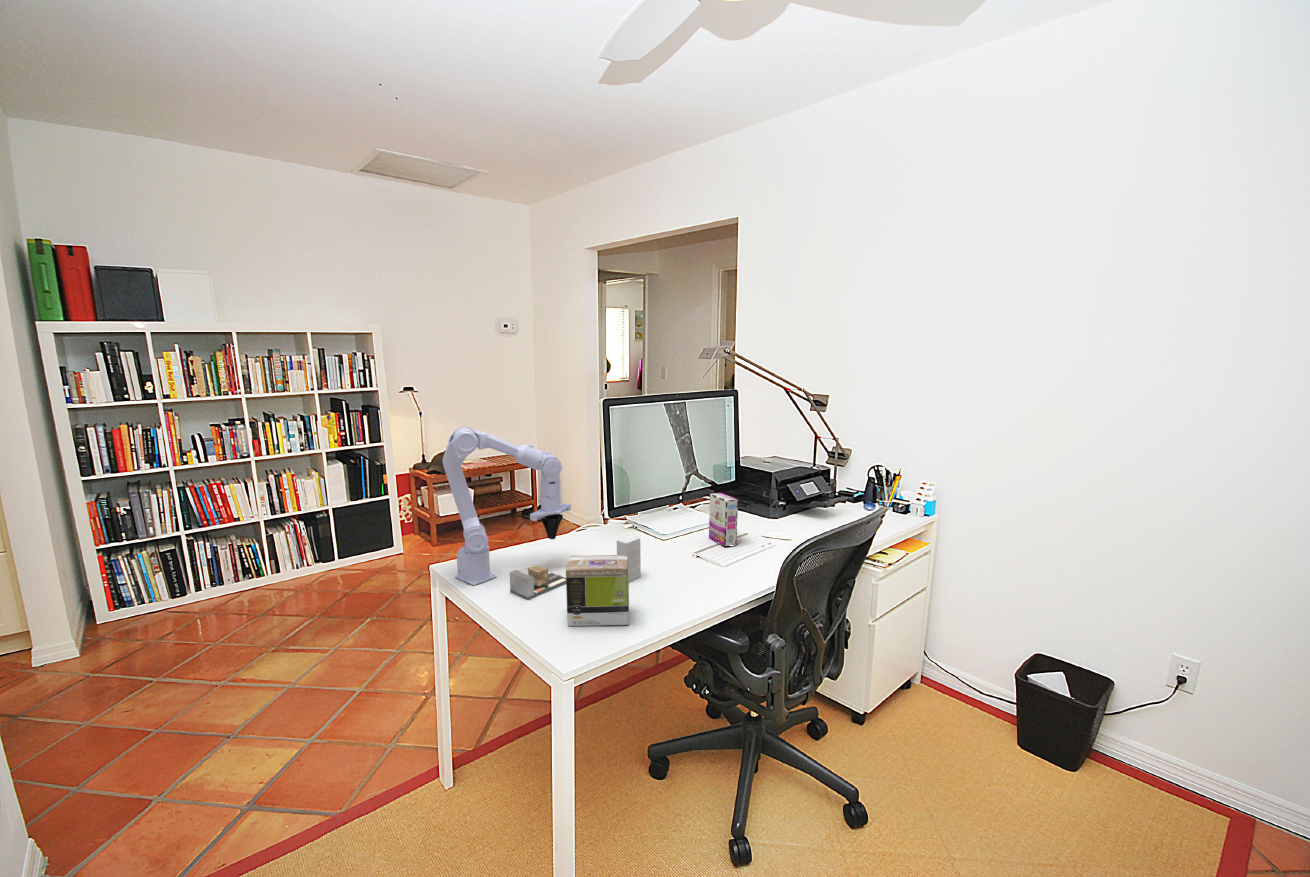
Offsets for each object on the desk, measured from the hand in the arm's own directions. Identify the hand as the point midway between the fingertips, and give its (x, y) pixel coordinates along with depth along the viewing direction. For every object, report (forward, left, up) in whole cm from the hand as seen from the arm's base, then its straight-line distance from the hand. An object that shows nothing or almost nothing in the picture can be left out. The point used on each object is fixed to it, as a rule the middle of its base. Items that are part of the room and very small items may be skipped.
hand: (551, 538), depth 172 cm
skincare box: (+23, +9, -10) cm, 26 cm away
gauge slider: (+9, -12, -8) cm, 17 cm away
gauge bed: (+8, -12, -9) cm, 17 cm away
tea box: (+33, -14, -10) cm, 37 cm away
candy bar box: (+28, +53, -10) cm, 61 cm away
